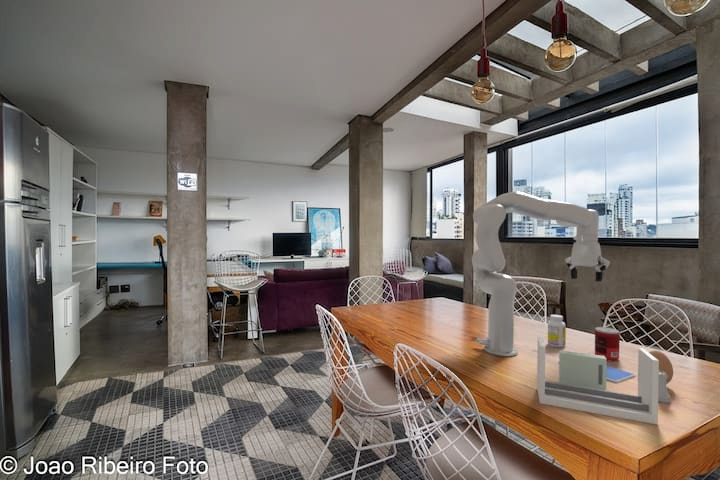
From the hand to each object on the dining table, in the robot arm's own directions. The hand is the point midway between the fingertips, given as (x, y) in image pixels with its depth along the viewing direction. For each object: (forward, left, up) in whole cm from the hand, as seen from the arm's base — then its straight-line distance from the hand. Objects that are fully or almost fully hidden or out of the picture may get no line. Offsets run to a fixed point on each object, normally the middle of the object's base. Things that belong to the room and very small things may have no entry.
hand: (585, 279), depth 142 cm
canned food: (+5, -10, -29) cm, 31 cm away
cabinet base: (-9, -57, -29) cm, 65 cm away
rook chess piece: (+10, -45, -29) cm, 55 cm away
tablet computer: (-2, -26, -30) cm, 39 cm away
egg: (+13, -33, -29) cm, 46 cm away
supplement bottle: (-11, -1, -29) cm, 31 cm away
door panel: (-9, -44, -29) cm, 53 cm away
